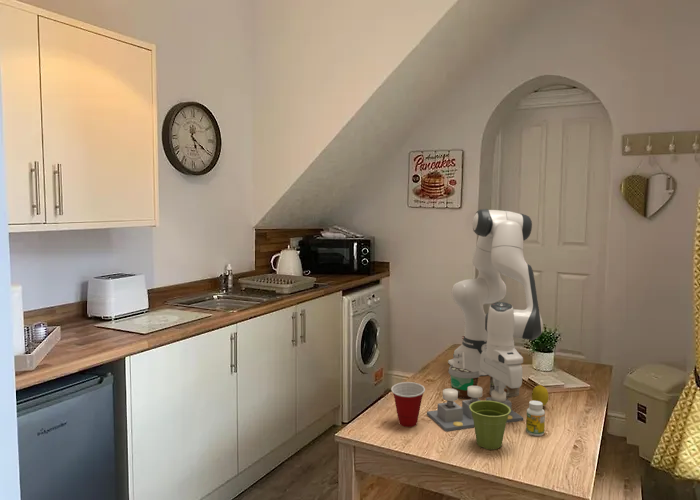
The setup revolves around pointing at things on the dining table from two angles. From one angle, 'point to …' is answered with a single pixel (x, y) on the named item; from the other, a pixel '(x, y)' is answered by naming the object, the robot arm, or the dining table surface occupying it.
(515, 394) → the coffee box
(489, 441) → the plant pot
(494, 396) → the button
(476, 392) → the button
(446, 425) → the button board
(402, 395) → the plastic cup
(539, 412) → the supplement bottle
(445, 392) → the button
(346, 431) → the dining table surface
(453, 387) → the food container
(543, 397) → the lemon
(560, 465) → the dining table surface
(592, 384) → the dining table surface
